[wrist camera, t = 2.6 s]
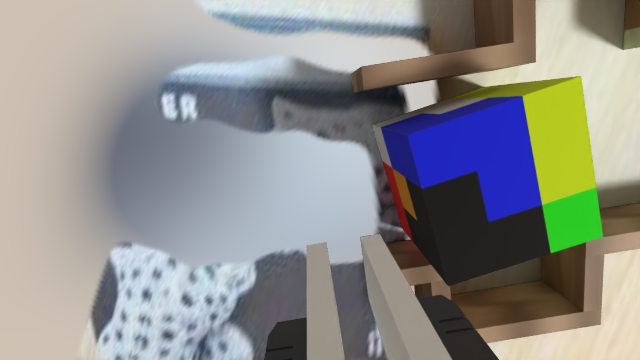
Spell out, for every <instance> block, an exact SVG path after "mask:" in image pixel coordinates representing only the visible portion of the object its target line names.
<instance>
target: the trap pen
mask: <svg viewBox="0 0 640 360" xmlns="http://www.w3.org/2000/svg"><path fill="white" fill-rule="evenodd" d="M474 17H475V40H476V49H470V50H463V51H457V52H451V53H445V54H438V55H432V56H426V57H420V58H413V59H407V60H400V61H395V62H388V63H381V64H375V65H369V66H363V67H360V68H359V69H357V70H356V71H355V72H353V73H352V74H351V76H352V84H353V92H361V91H367V90H373V89H379V88H386V87H392V86H398V85H405V84H411V83H417V82H424V81H430V80H436V79H442V78H449V77H455V76H461V75H468V74H474V73H480V72H487V71H493V70H498V69H503V68H508V67H514V66H519V65H524V64H529V63H534V62H536V18H535V0H474ZM638 47H640V0H626V5H625V23H624V42H623V50H625V49H632V48H638ZM599 211H600V218H601V225H602V233H603V237H600V238H597V239H594V240H591V241H588V242H585V243H582V244H579V245H575V246H572V247H569V248H566V249H563V250H560V251H557V252H554V253H550V254H547V255H544V256H541V281H535V282H528V283H522V284H516V285H510V286H504V287H498V288H491V289H485V290H479V291H473V292H467V293H461V294H454V295H451V291H450V286H447V284H446V283H445V282H444V281H443V279H442V278H441V277H440V276H439V274H438V273H437V272H436V270H435V269H434V268H433V267H432V265H431V264H430V263H429V262H428V260H427V259H426V258H425V257H424V255H423V254H422V253H421V251H420V250H419V249H418V248H417V246H416V245H415V244H414V243H413V241H412V240H405V241H399V242H393V243H387V244H386V246H387V248H388V249H389V251H390V253H391V254H392V256H393V258H394V260H395V261H396V263H397V265H398V267H399V268H400V270H401V272H402V274H403V275H404V277H405V279H406V280H407V282H408V284H409V286H411V285H414V286H415V296H416V298H423V297H429V296H435V295H441V294H442V295H443V296H445V297H446V298H448V299H450V300H451V301H453V302H454V303H456V304H457V305H458V307H459V308H460V309H461V310H462V312H463V313H464V314H465V316H466V318H467V319H468V320H469V321H470V322H471V324H472V325H473V326H474V329H475V330H477V332H478V333H479V334H480V335H481V337H482V338H483V339H484V341H485V342H486V343H491V342H497V341H503V340H509V339H515V338H521V337H527V336H533V335H540V334H546V333H552V332H558V331H564V330H570V329H576V328H582V327H589V326H595V325H601V307H602V287H603V266H604V254H609V253H615V252H621V251H627V250H634V249H640V203H635V204H628V205H622V206H616V207H610V208H604V209H599Z"/></svg>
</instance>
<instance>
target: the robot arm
mask: <svg viewBox="0 0 640 360" xmlns="http://www.w3.org/2000/svg"><path fill="white" fill-rule="evenodd" d="M360 239H361V246H362V253H363V261H364V269H365V276H366V283H367V291H368V298H369V302H370V305H371V308H372V311H373V314H374V317H375V320H376V324H377V327H378V330H379V333H380V336H381V339H382V342H383V345H384V348H385V351H386V354H387V358H388V360H499V359H498V358H497V356H496V355H495V354H494V353H493V351H492V350H491V349H490V347H489V346H488V345H487V343H486V342H485V341H484V339H483V338H482V337H481V335H480V334H479V333H478V332H477V330H475V329H474V326H473V325H472V324H471V322H470V321H469V320H468V319H467V318H466V316H465V314H464V313H463V312H462V310H461V309H460V308H459V307H458V305H457V304H456V303H454V302H453V301H451V300H450V299H448V298H446V297H445V296H443V295H442V294H441V295H435V296H429V297H423V298H416V296H415V294H414V293H413V291H412V289H411V287H410V286H409V284H408V282H407V280H406V279H405V277H404V275H403V274H402V272H401V270H400V268H399V267H398V265H397V263H396V261H395V260H394V258H393V256H392V254H391V253H390V251H389V249H388V248H387V246H386V244H385V242H384V241H383V239H382V237H381V235H380V234H375V235H369V236H363V237H360ZM264 360H345V359H344V353H343V346H342V339H341V333H340V326H339V319H338V313H337V306H336V300H335V293H334V287H333V281H332V275H331V269H330V263H329V256H328V251H327V244H326V243H320V244H314V245H308V246H307V318H301V319H295V320H289V321H282V322H277V324H276V325H275V327H274V328H273V330H272V331H271V333H270V334H269V335H268V341H267V347H266V353H265V359H264Z"/></svg>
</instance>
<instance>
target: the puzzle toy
mask: <svg viewBox="0 0 640 360" xmlns="http://www.w3.org/2000/svg"><path fill="white" fill-rule="evenodd" d="M372 127H373V130H374V134H375V137H376V140H377V144H378V147H379V151H380V154H381V158H382V161H383V164H384V168H385V171H386V175H387V178H388V181H389V185H390V188H391V192H392V195H393V199H394V202H395V205H396V209H397V212H398V216H399V219H400V222H401V226H402V229H403V230H404V231H405V232H406V234H407V235H408V236H409V238H410V239H411V240H412V241H413V243H414V244H415V245H416V246H417V248H418V249H419V250H420V251H421V253H422V254H423V255H424V257H425V258H426V259H427V260H428V262H429V263H430V264H431V265H432V267H433V268H434V269H435V270H436V272H437V273H438V274H439V276H440V277H441V278H442V279H443V281H444V282H445V283H446V284H447V286H450V285H454V284H457V283H460V282H463V281H466V280H469V279H472V278H475V277H479V276H482V275H485V274H488V273H491V272H494V271H497V270H500V269H504V268H507V267H510V266H513V265H516V264H519V263H522V262H525V261H529V260H532V259H535V258H538V257H541V256H544V255H547V254H550V253H554V252H557V251H560V250H563V249H566V248H569V247H572V246H575V245H579V244H582V243H585V242H588V241H591V240H594V239H597V238H600V237H603V233H602V225H601V218H600V211H599V204H598V196H597V189H596V182H595V174H594V167H593V160H592V153H591V145H590V138H589V131H588V124H587V116H586V109H585V102H584V94H583V87H582V80H581V76H578V77H569V78H560V79H551V80H542V81H534V82H525V83H516V84H507V85H498V86H489V87H483V88H480V89H477V90H474V91H471V92H468V93H465V94H462V95H459V96H456V97H453V98H450V99H447V100H444V101H441V102H438V103H435V104H432V105H429V106H426V107H423V108H420V109H417V110H415V111H412V112H409V113H406V114H403V115H400V116H397V117H394V118H391V119H388V120H385V121H382V122H379V123H376V124H373V125H372Z"/></svg>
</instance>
